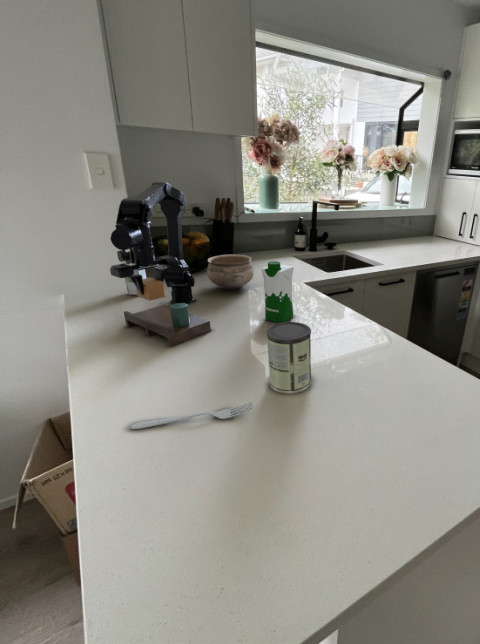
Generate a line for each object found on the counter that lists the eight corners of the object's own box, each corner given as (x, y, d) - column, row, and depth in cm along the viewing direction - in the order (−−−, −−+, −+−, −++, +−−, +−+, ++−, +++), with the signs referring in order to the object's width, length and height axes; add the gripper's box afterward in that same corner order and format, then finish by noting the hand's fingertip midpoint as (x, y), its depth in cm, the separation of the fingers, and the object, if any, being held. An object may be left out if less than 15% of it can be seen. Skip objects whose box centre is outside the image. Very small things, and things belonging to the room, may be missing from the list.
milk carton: (261, 320, 128) (258, 262, 120) (276, 311, 136) (274, 256, 128) (283, 325, 125) (281, 266, 117) (297, 316, 132) (296, 260, 124)
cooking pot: (202, 282, 165) (198, 255, 160) (243, 277, 174) (241, 251, 170) (218, 299, 146) (215, 268, 141) (264, 292, 155) (263, 263, 150)
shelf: (166, 313, 131) (164, 300, 130) (211, 330, 119) (209, 316, 117) (126, 326, 121) (123, 311, 119) (171, 346, 108) (168, 330, 107)
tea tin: (183, 319, 118) (180, 301, 116) (193, 323, 115) (191, 305, 113) (169, 324, 114) (166, 306, 112) (179, 328, 112) (176, 310, 109)
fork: (132, 422, 77) (130, 415, 76) (252, 406, 83) (252, 400, 82) (128, 432, 74) (126, 425, 74) (253, 415, 80) (253, 408, 79)
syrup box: (149, 291, 153) (143, 256, 147) (141, 296, 147) (134, 259, 142) (136, 290, 153) (129, 255, 148) (127, 295, 148) (119, 258, 142)
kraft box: (152, 292, 122) (149, 277, 120) (164, 296, 119) (162, 281, 117) (137, 296, 119) (134, 280, 117) (149, 300, 115) (147, 285, 113)
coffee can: (281, 368, 99) (279, 319, 93) (317, 376, 96) (317, 325, 90) (261, 388, 90) (257, 335, 84) (300, 397, 87) (299, 342, 81)
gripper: (155, 235, 123) (163, 281, 130) (95, 244, 109) (107, 295, 115) (176, 239, 118) (182, 287, 124) (115, 249, 103) (126, 302, 110)
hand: (150, 292), depth 118 cm, fingers closed on kraft box, 5 cm apart
